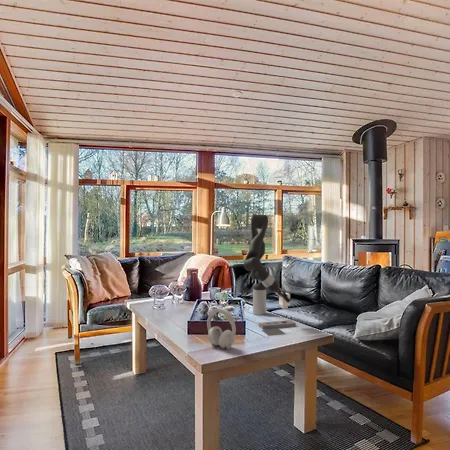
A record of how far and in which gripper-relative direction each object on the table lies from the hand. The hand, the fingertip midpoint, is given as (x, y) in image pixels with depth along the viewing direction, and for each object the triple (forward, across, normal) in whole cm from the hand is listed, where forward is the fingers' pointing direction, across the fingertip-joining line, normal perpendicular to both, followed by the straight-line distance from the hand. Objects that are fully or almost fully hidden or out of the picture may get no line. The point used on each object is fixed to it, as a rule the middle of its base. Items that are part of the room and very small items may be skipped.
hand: (287, 300), depth 226 cm
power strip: (+7, 0, +16) cm, 17 cm away
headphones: (-24, -24, +47) cm, 58 cm away
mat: (+2, -11, +21) cm, 24 cm away
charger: (+2, 0, +4) cm, 5 cm away
